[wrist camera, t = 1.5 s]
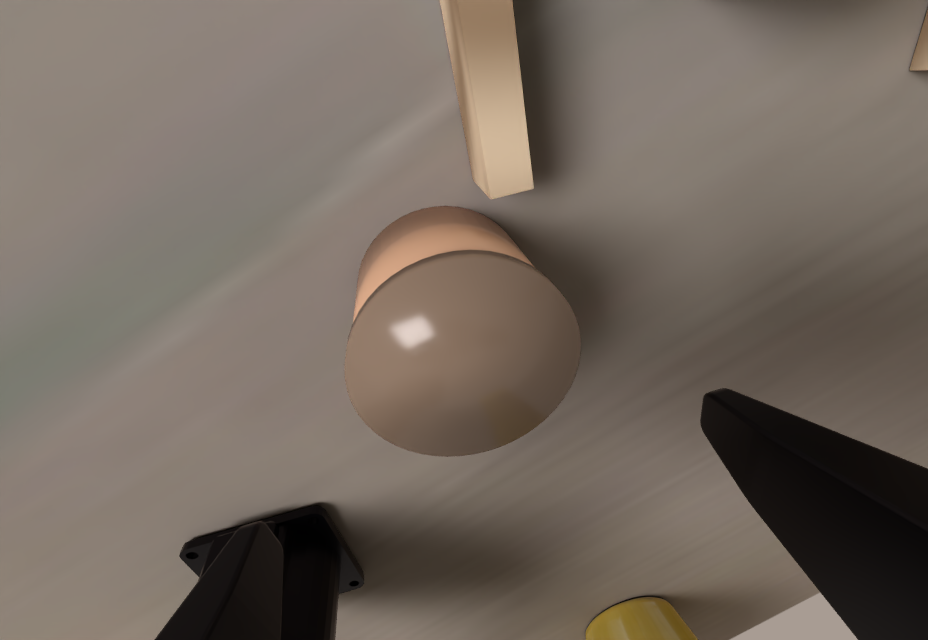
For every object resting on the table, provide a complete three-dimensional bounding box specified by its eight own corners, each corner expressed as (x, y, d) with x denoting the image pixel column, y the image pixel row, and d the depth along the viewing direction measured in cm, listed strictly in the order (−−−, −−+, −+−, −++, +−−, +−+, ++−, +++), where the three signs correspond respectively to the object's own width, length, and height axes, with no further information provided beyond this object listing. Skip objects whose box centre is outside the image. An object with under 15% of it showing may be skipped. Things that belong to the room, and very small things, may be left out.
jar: (534, 336, 17) (586, 422, 13) (384, 377, 17) (386, 479, 13) (513, 182, 14) (573, 229, 10) (327, 229, 14) (304, 299, 9)
